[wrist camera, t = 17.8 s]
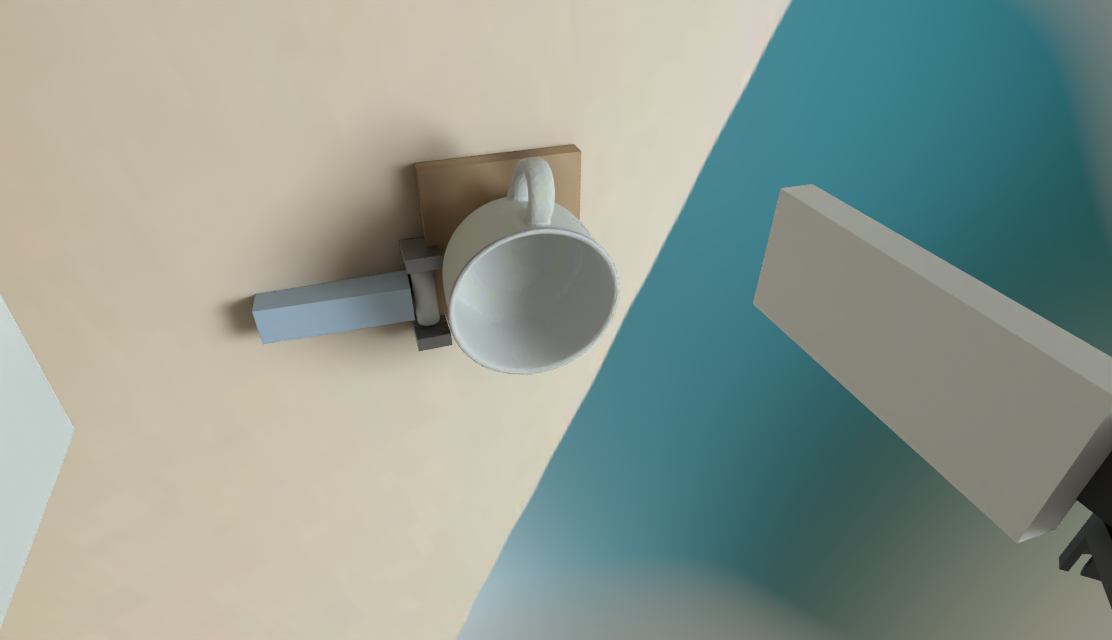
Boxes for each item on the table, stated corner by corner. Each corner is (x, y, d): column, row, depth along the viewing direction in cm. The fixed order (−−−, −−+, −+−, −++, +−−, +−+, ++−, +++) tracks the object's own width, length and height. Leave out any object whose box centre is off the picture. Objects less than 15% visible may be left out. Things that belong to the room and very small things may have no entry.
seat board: (432, 305, 47) (436, 315, 46) (414, 163, 41) (417, 170, 40) (571, 280, 50) (577, 289, 49) (574, 144, 44) (581, 151, 43)
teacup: (556, 316, 50) (593, 379, 44) (417, 311, 45) (437, 379, 39) (606, 143, 43) (659, 188, 37) (449, 117, 39) (479, 163, 32)
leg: (430, 254, 45) (435, 271, 43) (437, 308, 47) (442, 327, 45) (251, 278, 42) (247, 298, 40) (269, 334, 45) (266, 356, 43)
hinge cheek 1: (400, 253, 44) (407, 274, 42) (398, 240, 44) (404, 260, 41) (435, 247, 45) (443, 268, 42) (433, 235, 44) (441, 255, 42)
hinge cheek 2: (412, 328, 48) (418, 351, 45) (411, 317, 47) (417, 340, 45) (444, 322, 48) (452, 344, 46) (443, 311, 48) (450, 333, 45)
